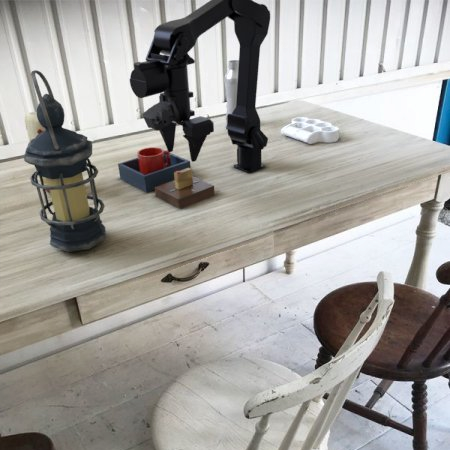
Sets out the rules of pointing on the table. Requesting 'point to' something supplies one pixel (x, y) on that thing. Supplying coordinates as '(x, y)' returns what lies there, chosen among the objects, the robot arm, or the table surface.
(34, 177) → the lantern
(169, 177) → the dark blue tray
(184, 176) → the tap knob
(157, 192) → the panel
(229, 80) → the plastic bottle
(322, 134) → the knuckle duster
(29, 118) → the food model
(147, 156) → the mug
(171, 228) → the table surface
